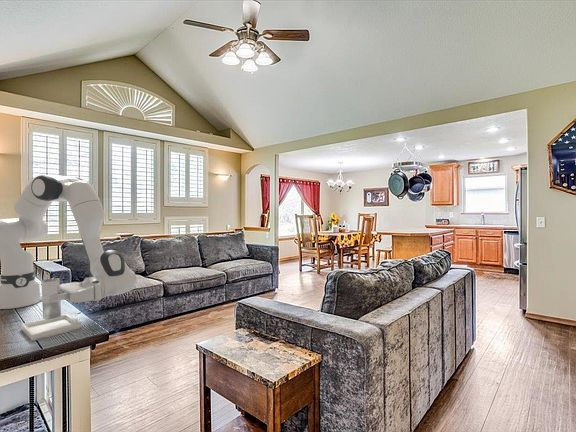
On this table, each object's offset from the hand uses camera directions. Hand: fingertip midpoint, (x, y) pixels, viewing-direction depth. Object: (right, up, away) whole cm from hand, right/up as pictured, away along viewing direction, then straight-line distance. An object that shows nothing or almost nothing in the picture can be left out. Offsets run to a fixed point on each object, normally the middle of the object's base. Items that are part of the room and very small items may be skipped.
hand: (48, 296), depth 114 cm
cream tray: (0, -12, +2) cm, 12 cm away
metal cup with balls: (+1, -7, +1) cm, 7 cm away
